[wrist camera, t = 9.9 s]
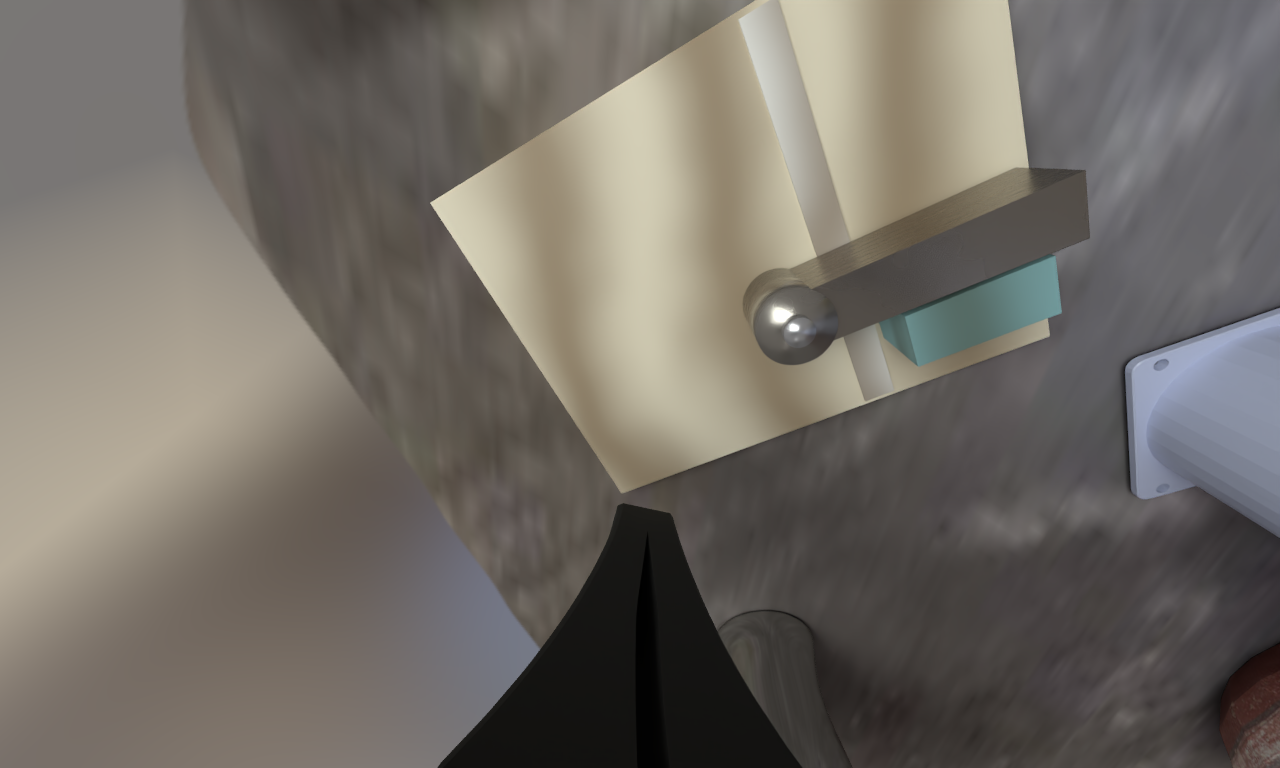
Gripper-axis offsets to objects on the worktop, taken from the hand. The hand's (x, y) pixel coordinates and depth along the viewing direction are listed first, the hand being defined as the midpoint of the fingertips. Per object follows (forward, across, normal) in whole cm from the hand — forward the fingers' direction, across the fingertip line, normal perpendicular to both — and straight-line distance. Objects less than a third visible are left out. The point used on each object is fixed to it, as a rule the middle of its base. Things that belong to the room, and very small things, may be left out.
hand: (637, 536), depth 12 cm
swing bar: (+9, -7, -7) cm, 13 cm away
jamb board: (+10, -3, -5) cm, 12 cm away
